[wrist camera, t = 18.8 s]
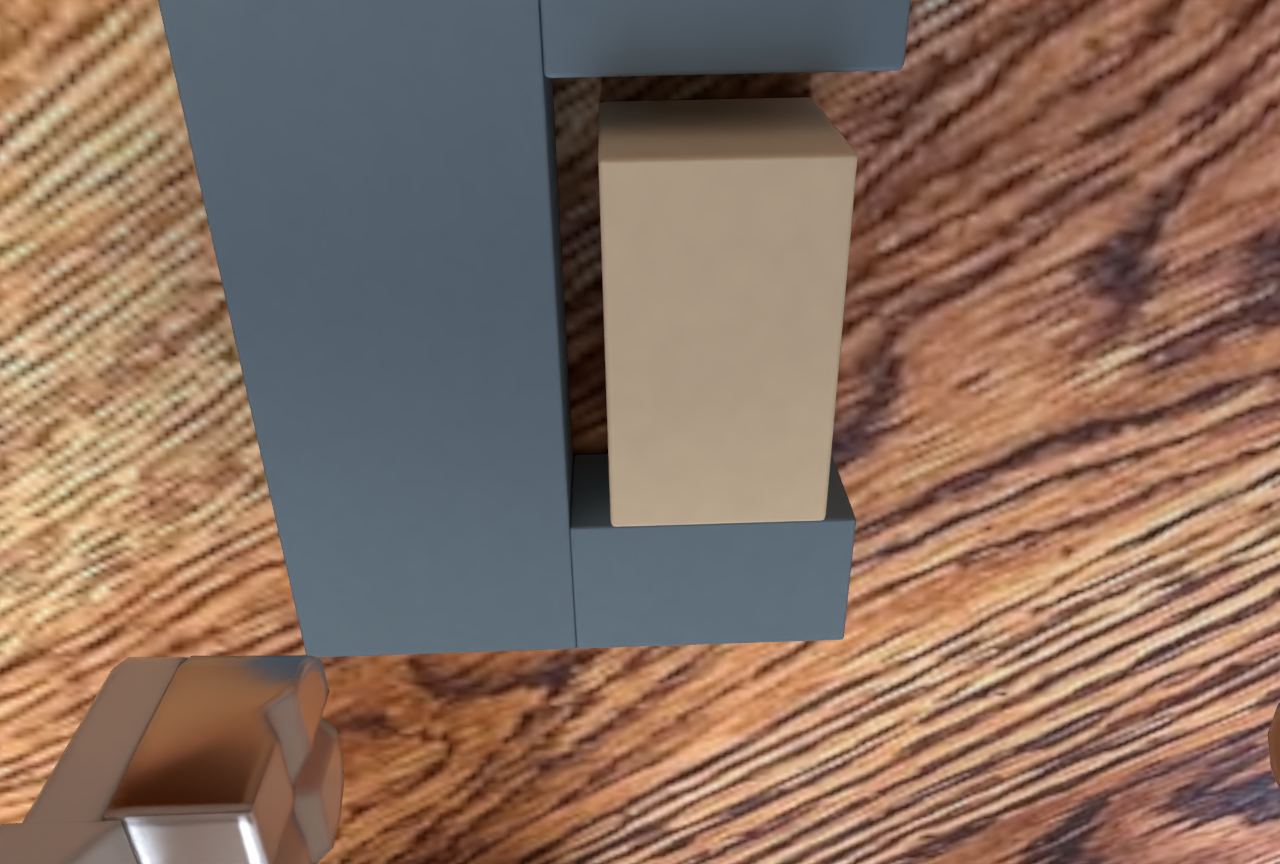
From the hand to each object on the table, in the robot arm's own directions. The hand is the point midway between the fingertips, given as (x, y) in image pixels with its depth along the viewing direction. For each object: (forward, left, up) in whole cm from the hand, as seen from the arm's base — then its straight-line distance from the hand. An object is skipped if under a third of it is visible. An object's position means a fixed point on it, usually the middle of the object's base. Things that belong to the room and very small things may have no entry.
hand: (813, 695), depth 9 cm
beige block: (0, 0, -11) cm, 11 cm away
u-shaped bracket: (0, -2, -11) cm, 11 cm away
